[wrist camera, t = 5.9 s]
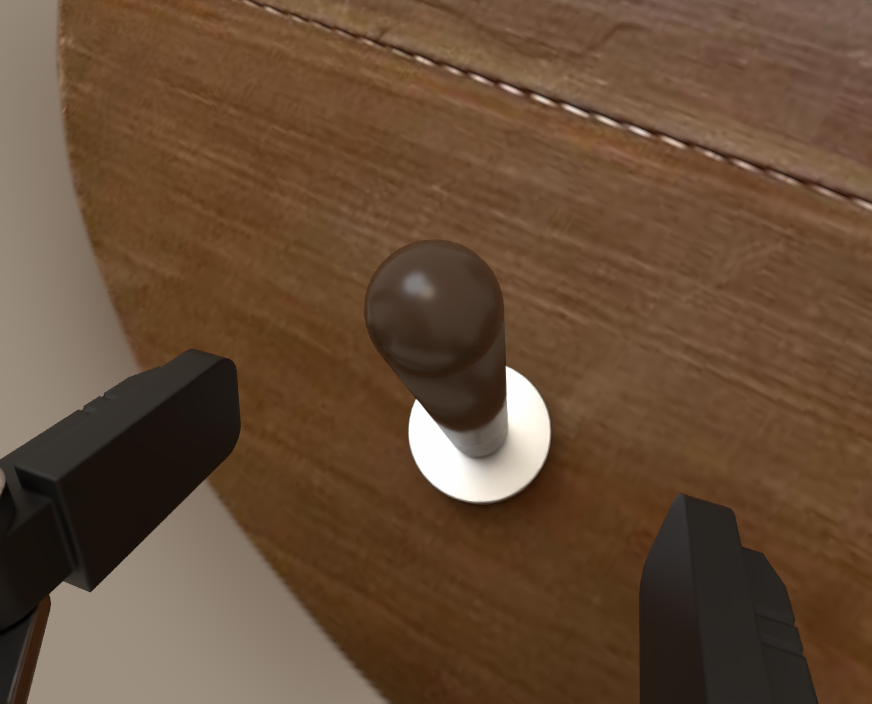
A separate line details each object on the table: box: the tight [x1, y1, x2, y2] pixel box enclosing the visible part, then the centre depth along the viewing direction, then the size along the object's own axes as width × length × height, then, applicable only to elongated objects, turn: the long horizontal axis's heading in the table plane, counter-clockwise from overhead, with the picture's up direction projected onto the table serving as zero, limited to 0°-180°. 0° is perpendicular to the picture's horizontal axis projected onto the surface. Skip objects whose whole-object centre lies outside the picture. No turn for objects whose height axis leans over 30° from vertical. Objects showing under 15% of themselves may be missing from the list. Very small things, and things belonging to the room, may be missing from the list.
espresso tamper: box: [364, 240, 552, 505], centre depth 12 cm, size 4×4×13 cm
